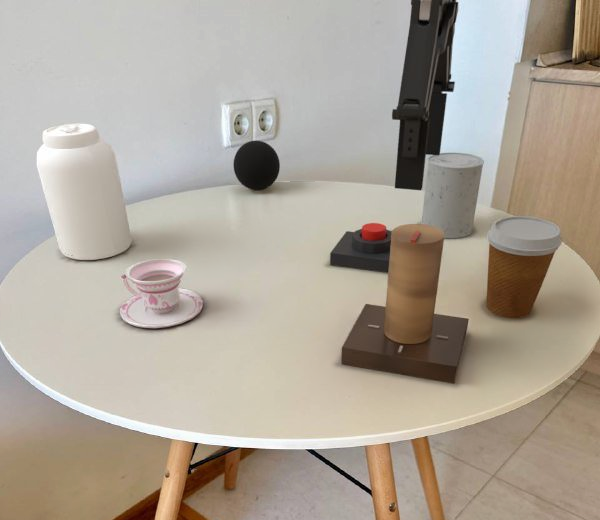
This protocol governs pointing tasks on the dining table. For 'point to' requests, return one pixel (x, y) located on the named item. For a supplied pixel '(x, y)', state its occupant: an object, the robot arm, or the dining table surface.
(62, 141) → the white lidded jar
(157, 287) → the teacup
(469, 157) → the gray concrete cylinder
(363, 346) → the dark brown wooden base
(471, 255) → the dining table surface
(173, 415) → the dining table surface
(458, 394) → the dining table surface
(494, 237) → the disposable coffee cup
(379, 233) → the red button
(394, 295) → the wooden cylinder
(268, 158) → the decorative ball
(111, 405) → the dining table surface
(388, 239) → the button base
